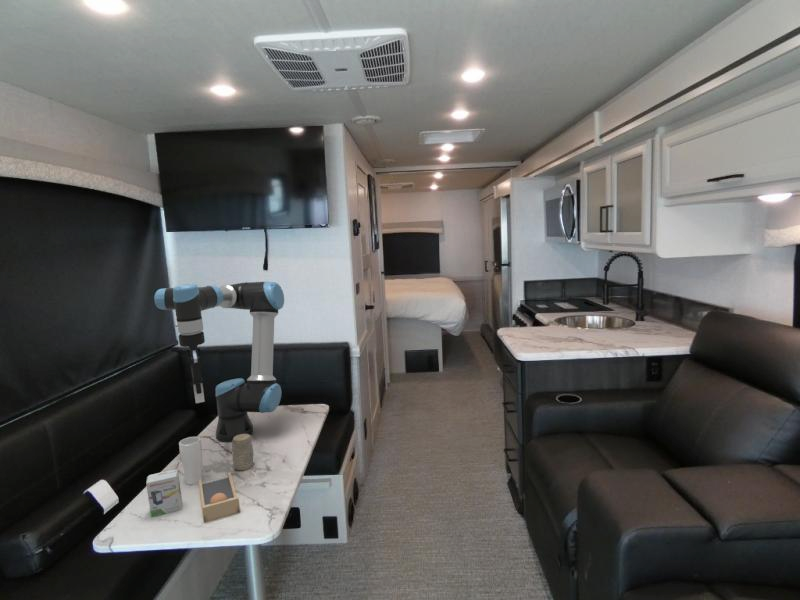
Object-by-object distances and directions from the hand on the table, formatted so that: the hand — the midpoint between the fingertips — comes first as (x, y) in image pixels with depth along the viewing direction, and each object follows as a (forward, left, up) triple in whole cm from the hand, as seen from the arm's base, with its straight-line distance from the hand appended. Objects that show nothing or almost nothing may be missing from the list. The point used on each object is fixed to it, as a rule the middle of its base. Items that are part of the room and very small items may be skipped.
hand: (200, 401), depth 156 cm
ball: (+22, +2, -28) cm, 35 cm away
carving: (-4, +12, -29) cm, 31 cm away
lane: (+13, +2, -29) cm, 32 cm away
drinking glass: (-3, -4, -29) cm, 29 cm away
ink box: (+12, -13, -29) cm, 34 cm away
